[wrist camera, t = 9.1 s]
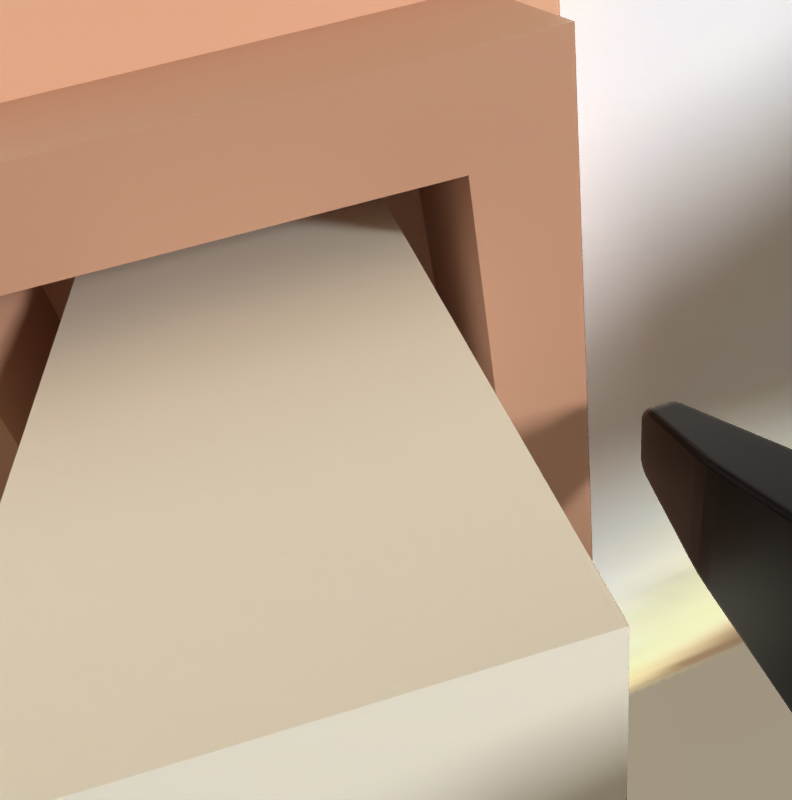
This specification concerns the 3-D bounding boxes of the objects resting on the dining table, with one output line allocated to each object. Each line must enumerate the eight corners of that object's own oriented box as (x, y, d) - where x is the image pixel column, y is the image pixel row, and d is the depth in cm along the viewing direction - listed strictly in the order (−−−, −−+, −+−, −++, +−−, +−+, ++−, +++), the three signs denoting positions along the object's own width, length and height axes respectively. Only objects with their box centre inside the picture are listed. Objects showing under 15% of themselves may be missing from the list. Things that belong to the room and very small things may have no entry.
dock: (519, -129, 10) (683, -138, 6) (561, 506, 17) (650, 661, 14) (-248, 48, 9) (-509, 141, 6) (129, 632, 16) (109, 827, 13)
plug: (367, 172, 10) (629, 625, 4) (430, 481, 14) (624, 986, 8) (86, 242, 10) (-117, 851, 4) (223, 538, 14) (239, 1115, 7)
